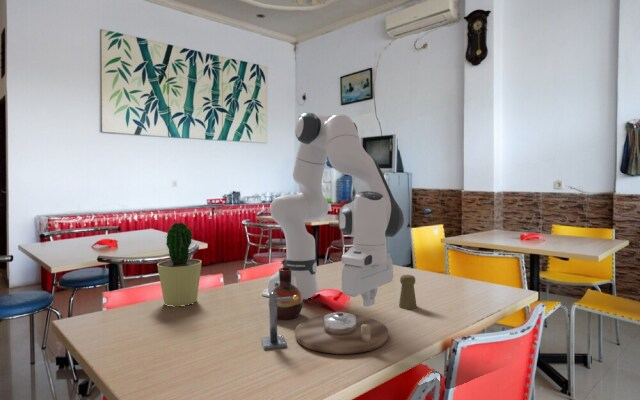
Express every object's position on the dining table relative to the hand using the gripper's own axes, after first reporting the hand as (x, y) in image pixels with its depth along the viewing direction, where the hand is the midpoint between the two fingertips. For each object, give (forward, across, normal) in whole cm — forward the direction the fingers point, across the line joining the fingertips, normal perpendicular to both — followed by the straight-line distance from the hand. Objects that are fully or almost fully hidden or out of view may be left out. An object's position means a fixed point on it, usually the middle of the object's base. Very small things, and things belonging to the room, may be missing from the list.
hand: (369, 305), depth 108 cm
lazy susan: (+11, 0, -9) cm, 14 cm away
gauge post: (+11, +13, -19) cm, 26 cm away
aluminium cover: (+9, 0, -9) cm, 13 cm away
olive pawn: (+11, -36, -7) cm, 39 cm away
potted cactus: (+13, +8, -75) cm, 77 cm away
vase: (+12, -4, -34) cm, 36 cm away
